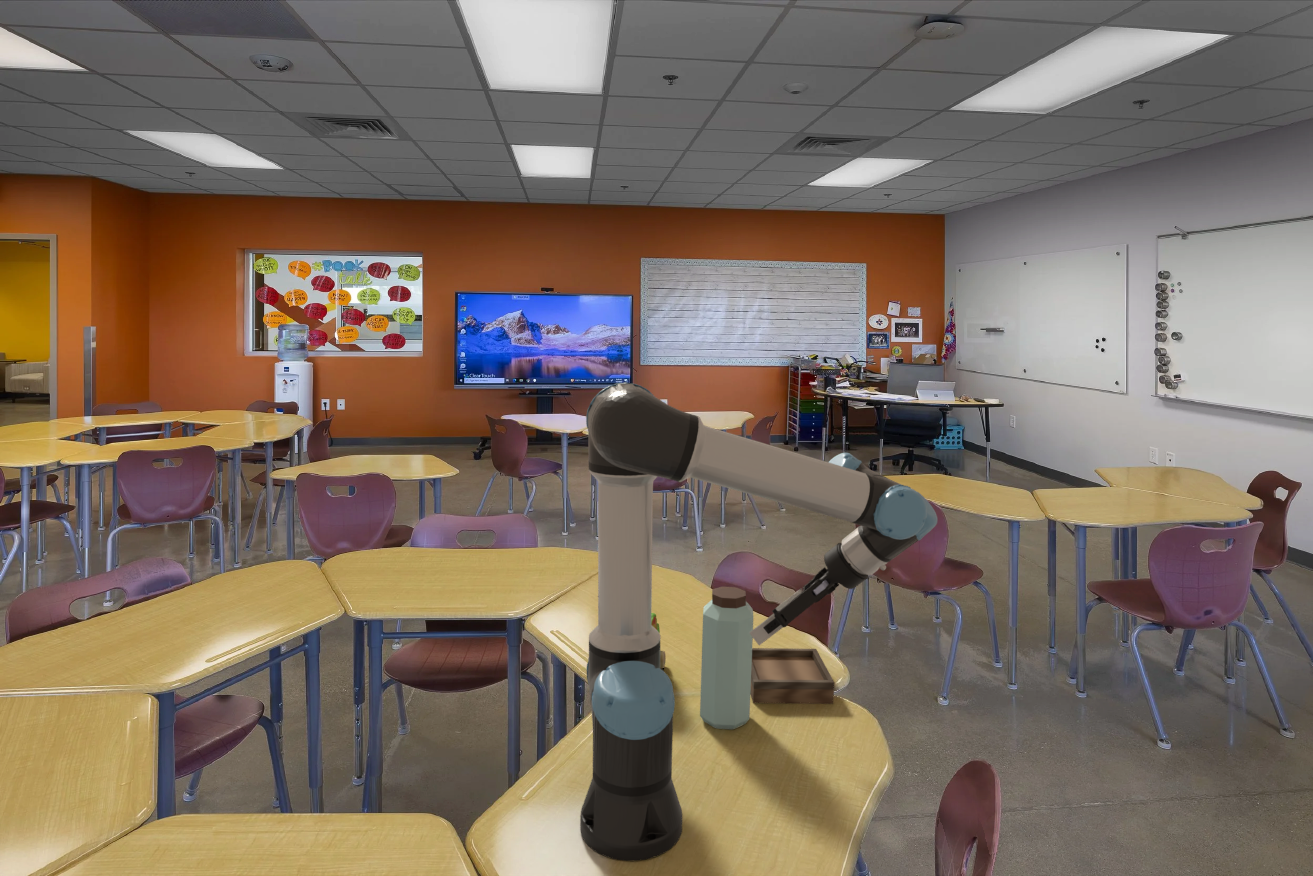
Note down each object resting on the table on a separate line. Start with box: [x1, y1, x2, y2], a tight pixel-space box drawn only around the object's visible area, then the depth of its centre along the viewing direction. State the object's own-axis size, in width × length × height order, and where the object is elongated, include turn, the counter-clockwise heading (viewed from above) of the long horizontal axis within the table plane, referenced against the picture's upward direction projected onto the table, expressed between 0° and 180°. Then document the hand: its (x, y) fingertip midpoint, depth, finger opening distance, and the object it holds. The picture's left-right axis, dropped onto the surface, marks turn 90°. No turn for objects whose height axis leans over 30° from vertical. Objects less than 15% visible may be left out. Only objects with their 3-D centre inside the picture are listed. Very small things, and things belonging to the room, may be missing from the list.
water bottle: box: [699, 586, 754, 730], centre depth 145 cm, size 10×10×25 cm
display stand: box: [750, 647, 835, 705], centre depth 161 cm, size 16×16×4 cm
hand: (768, 625), depth 141 cm, fingers open, 13 cm apart
